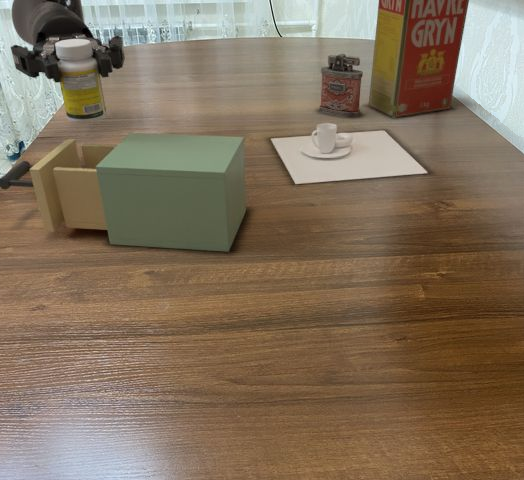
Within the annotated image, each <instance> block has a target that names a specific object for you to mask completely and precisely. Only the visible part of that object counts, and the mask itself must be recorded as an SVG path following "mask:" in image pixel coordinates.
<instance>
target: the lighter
mask: <svg viewBox="0 0 524 480" xmlns="http://www.w3.org/2000/svg"><path fill="white" fill-rule="evenodd" d="M327 64H328V66H322V67H321V68H320V74H321V86H320V87H321V88H320V89H321V91H320V105H319V112H320V113H323V114H327V115H331V116H336V117H342V118H351V119H352V118H359V117H360V113H361V112H360V101H361V100H360V99H361V89H362V88H361V86H362V78H363V73H364V72H363V71H362V70H359V69H354V66H355V67H358V66H360V64H361V59H360V57H359V56H352V55H346V54H345V53H339V54H337V55H335V54H328V55H327Z"/></svg>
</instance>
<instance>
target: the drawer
mask: <svg viewBox="0 0 524 480" xmlns="http://www.w3.org/2000/svg"><path fill="white" fill-rule="evenodd" d="M76 142H77V141H76V139H75V138H73V139H71V138H66V139H65V140H63V141H62V142H61V143H60V144H59V145H57V146H56V147H55V148H53V149H52V150H51V151H50V152H49V153H47V154H46V155H45V156H44V157H42V158H41V159H40V160H38V161H37V163H35V164H31V163H30V162H29V161H27V160H22V161H21V162H20V163H18V164H17V165H15V166H14V167H13V168H11V169H10V170H9V171H8V172H6V173H5V174H4V175H2V176H1V177H0V188H1V189H2V190H8V189H9V188H11V187H23V188H33V189H34V191H35V192H34V193H35V196H36V201H37V205H38V208H39V212H40V217H41V219H42V224H43V227H44V231H45V232H50V233H51V232H53V233H54V232H55V231H57V229H59V227H60V226H61V225H62V224H63V223H64V225H65V227H66V228H70V229H84V230H102V231H108V230H107V225H106V219H105V214H104V209H103V203H102V198H101V193H100V187H99V182H98V176H97V171H96V166H97V165H98V164H99V163H100V162H101V161H102V160H103V159H104V158H105V157H106V156H107V155H108V154H109V153H110V152H111V151H112V150H113V149H114V148H115V147H116V146H117V145H118V144H111V143H110V144H109V143H108V144H107V143H87V142H85V143H84V142H83V143H82V144H81V145H80V147H81V153H82V157H83V158H82V159H83V164H84V168H83V167H81V166H82V165H81V162H80V158H79V151H78V148H77V143H76ZM28 173H30V177H31V180H25V179H22V178H23V177H24V176H25V175H26V174H28Z"/></svg>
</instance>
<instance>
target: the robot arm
mask: <svg viewBox="0 0 524 480" xmlns="http://www.w3.org/2000/svg"><path fill="white" fill-rule="evenodd" d="M11 21H12V24H13V27H14V31H15V32H16V34H17V35H18V37H19V38H20V39H21V40H22V41H23V42H26V44H29V45H31V46H32V50H29V48H28V47H27V46H22V45H18V44H13V45H12V46H10V50H11V54H12V55H11V56H12V59H13V62H14V67H15V70H17V71H19V72H20V73H22V74H24V75H26V76H28V77H29V78H32V79H37V78H38V77H40V73H43V74H44V76H45V77H46V79H48V80H53V82H54V84H56V83H60V82H61V78H60V73H59V68H58V64H57V63H58V61H59V60H60V59H59V58H58V57H57V54H56V47H55V43H57V42H59V41H62V40H68V39H85V40H89V41H90V42H91V46H92V51H93V52H92V53H93V55H92V56H91V57H92V58H94V59H95V60H96V61H97V63H98V67H99V73H100V77H101V78H109V76H110V75H109V74H111V73H113V72H114V70H113V69H115V70H120V69H123V67H124V63H125V59H126V57H125V50H124V43H123V37H122V36H119V35H115V36H112V37H111V38H108V39H107V42H108V43H103V42H102V41H101V40H100V39H99V38H95V37H94V34H93V33H92V31H91V30H90V28H89V27H88V26H87V25H86V22H85V14H84V9H83V5H82V0H12V4H11Z"/></svg>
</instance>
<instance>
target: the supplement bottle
mask: <svg viewBox="0 0 524 480" xmlns="http://www.w3.org/2000/svg"><path fill="white" fill-rule="evenodd" d="M55 47H56V54H57V57H58V58H59V59H60V60H59V61H58V63H57V64H58V68H59V73H60V78H61V82H59V85H60V90H61V95H62V99H63V105H64V109H65V112H66V118H67V119H68V121H70V122H72V123H75V124H89V123H96V122H99V121H102V120H103V119H105V118H106V116H107V108H106V102H105V96H104V92H103V86H102V81H101V80H102V79H101V75H100V73H99V67H98V63H97V61H96V60H95V59H94V58H92V57H91V56H92V55H93V53H92V52H93V51H92V46H91V42H90V41H89V40H85V39H68V40H62V41H59V42H57V43H55Z"/></svg>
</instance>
